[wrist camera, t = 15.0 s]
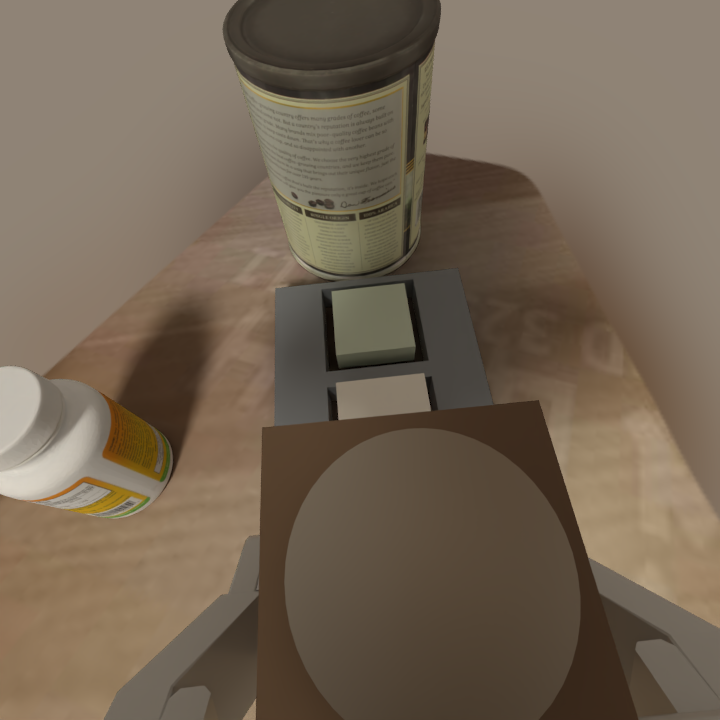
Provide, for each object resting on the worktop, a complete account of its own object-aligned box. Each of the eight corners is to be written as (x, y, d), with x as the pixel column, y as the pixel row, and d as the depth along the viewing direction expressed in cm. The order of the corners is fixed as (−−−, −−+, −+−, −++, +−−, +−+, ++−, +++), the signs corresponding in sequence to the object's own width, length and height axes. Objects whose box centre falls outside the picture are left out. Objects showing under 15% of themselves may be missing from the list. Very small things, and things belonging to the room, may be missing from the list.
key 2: (339, 368, 25) (336, 355, 24) (334, 306, 28) (331, 291, 26) (414, 360, 25) (415, 346, 24) (403, 299, 28) (404, 283, 26)
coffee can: (274, 205, 34) (206, -13, 21) (393, 172, 35) (395, -55, 22) (305, 302, 29) (242, 95, 17) (442, 261, 30) (480, 36, 18)
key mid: (345, 479, 21) (342, 471, 19) (339, 395, 23) (335, 382, 22) (436, 469, 21) (440, 461, 19) (421, 386, 23) (424, 373, 22)
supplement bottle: (129, 411, 26) (1, 328, 17) (194, 452, 24) (89, 384, 16) (63, 489, 24) (-119, 439, 15) (130, 538, 22) (-30, 513, 14)
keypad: (283, 678, 19) (272, 688, 17) (282, 306, 29) (275, 288, 27) (543, 652, 19) (559, 660, 17) (453, 287, 29) (458, 267, 27)
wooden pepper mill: (344, 643, 13) (232, 854, 3) (337, 525, 15) (249, 411, 5) (455, 632, 13) (700, 805, 3) (435, 515, 15) (556, 381, 5)
